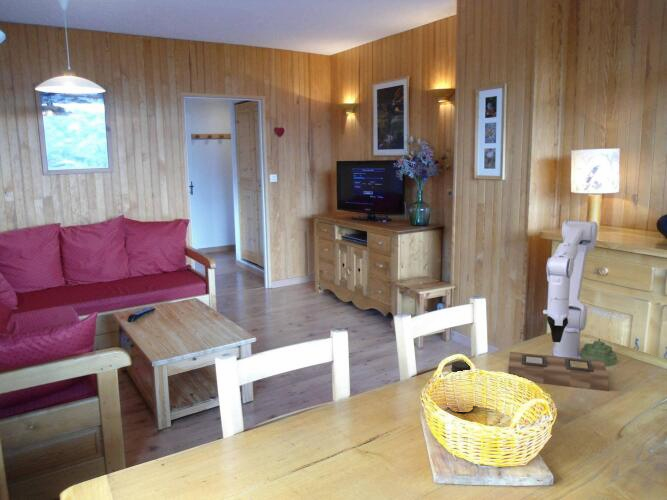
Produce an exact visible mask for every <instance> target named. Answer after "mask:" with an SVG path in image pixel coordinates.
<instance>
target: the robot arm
mask: <svg viewBox="0 0 667 500" xmlns="http://www.w3.org/2000/svg"><path fill="white" fill-rule="evenodd" d="M561 225H562V227H561V237H562V241H563V242H561V243H559V245H558V246H557V248H556V250H555V252H554V254H553V255H552V256H551V257H548V258H547V261H546V262H547V263H546V275H547V276H546V280H547V281H546V282H548V284H547V285H548V287H547V288H548V289H547V309H543V311H542V313H543V314H544V315H547V317H546V320H547V323H548V326H549V328H550V335H551V341H552V342H553V343H554V346H552V354H553V355H552V356H558V357H569V358H579V359H581V351H580V343H581V342H580V341H581V340H580V339H581V331H584V330H585V329H586V326H587V321H588V320H587V318H588V316H587V314H588V309H587V306H586V305H585V303H583V301H581V300H580V298H581V291H582V286H583V285H582V284H583V278H584V272H585V266H586V261H587V256H588V254H589V252H591V251H593V250H595V247H596V244H597V238H598V230H599V229H598V228H599V227H598V226H599V225H598V223H597V221H583V220H582V221H580V220H579V221H578V220H568V219H565V220H564V221H563V223H562V224H561Z"/></svg>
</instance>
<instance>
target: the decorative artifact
mask: <svg viewBox="0 0 667 500" xmlns="http://www.w3.org/2000/svg"><path fill="white" fill-rule="evenodd" d="M583 346H584V347H583V348H581V349H580V356H581V359H589V360H600V361H603V362H604V365H605V367H612V366H614V365H616V364H617V356H618V355H617V353H616V352H615V351H613V347H612V346H611V345H608V344H606V343H605V342H604V341H601V339H600V338H598V340H595V341H593V343H585V344H584V345H583Z"/></svg>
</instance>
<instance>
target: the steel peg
mask: <svg viewBox="0 0 667 500" xmlns="http://www.w3.org/2000/svg"><path fill="white" fill-rule="evenodd" d="M526 362H527V363H537V364H542V358H537V357H527V356H526Z"/></svg>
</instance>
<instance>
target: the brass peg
mask: <svg viewBox="0 0 667 500" xmlns="http://www.w3.org/2000/svg"><path fill="white" fill-rule="evenodd" d="M569 366H570V367H576V368H586V369H588V366H587V362H577V361H570V365H569Z"/></svg>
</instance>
